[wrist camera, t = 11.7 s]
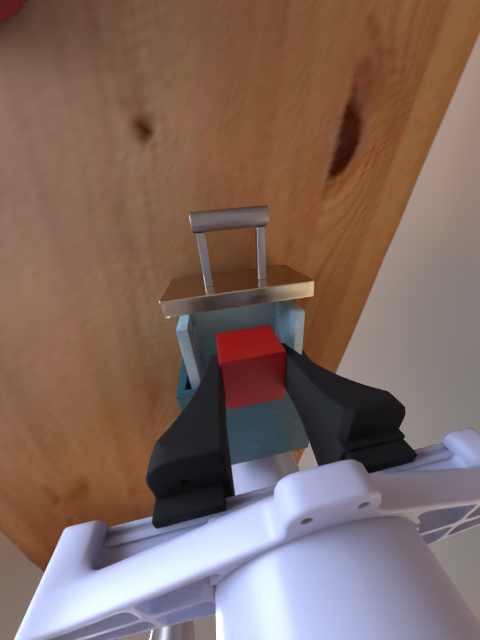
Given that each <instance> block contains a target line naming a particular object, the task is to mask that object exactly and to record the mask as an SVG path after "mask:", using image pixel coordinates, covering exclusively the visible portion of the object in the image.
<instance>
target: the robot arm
mask: <svg viewBox="0 0 480 640" xmlns="http://www.w3.org/2000/svg"><path fill="white" fill-rule="evenodd" d="M281 344H282V346H283V347H284V349H285V350H286V374H285V389H286V391H287V393H288V394H289V396H290V398H291V400H292V402H293V404H294V406H295V408H296V410H297V412H298V414H299V417H300V419H301V421H302V424H303V426H304V429H305V431H306V434H307V436H308V439H309V442H310V444H311V447H312V450H313V452H314V455H315V457H316V460H317V463H318V467H314V468H310V469H306V470H302V471H300V470H299V468H298V465H297V462H296V460H295V457H294V455H293V452H292V451H290V452H285V453H281V454H277V455H273V456H269V457H264V458H260V459H256V460H252V461H247V462H243V463H239V464H235V465H231V459H230V451H229V442H228V434H227V425H226V400H225V394H224V388H223V383H222V377H221V371H220V366H219V358H218V354H214V355H210V357H209V361H208V364H207V367H206V370H205V373H204V375H203V378H202V380H201V382H200V384H199V386H198V388H197V390H196V392H195V393H194V395H193V397H192V399H191V400H190V402H189V403H188V405H187V406H186V408H185V409H184V410H183V412H182V413H181V414H180V416H179V417H178V418H177V419H176V421H175V422H174V423H173V424H172V425H171V427H170V428H169V429H168V430H167V431H166V432H165V433H164V434H163V435H162V436H161V437H160V438H159V439H158V440H157V441H156V444H155V446H154V449H153V452H152V455H151V457H150V461H149V465H148V470H147V475H146V483H147V485H148V487H149V488H150V490H151V491H152V493H153V494H154V496H155V498H156V501H155V506H154V512H153V516H152V517H148V518H144V519H140V520H136V521H132V522H128V523H124V524H120V525H116V526H112V527H108V526H107V524H106V523H105V522H103V521H99V520H96V521H90V522H86V523H82V524H78V525H74V526H70V527H67V528H66V529H64V531H63V533H62V535H61V538H60V540H59V542H58V544H57V546H56V549H55V551H54V553H53V555H52V557H51V560H50V562H49V564H48V566H47V568H46V571H45V573H44V575H43V577H42V579H41V582H40V584H39V586H38V588H37V590H36V593H35V595H34V597H33V599H32V602H31V603H30V606H29V608H28V610H27V612H26V614H25V617H24V619H23V621H22V623H21V625H20V628H19V630H18V632H17V634H16V637H15V639H14V640H113V639H117V638H120V637H125V636H128V635H132V634H136V633H141V632H145V631H149V630H153V629H157V628H161V627H166V626H170V625H174V624H178V623H182V622H186V621H190V620H195V619H199V618H203V617H207V616H211V615H215V614H216V633H217V640H480V620H479V619H478V618H477V616H476V615H475V613H474V612H473V610H472V609H471V607H470V606H469V604H468V603H467V602H466V600H465V599H464V597H463V596H462V595H461V593H460V591H459V590H458V589H457V587H456V586H455V584H454V583H453V582H452V580H451V579H450V577H449V576H448V574H447V573H446V571H445V570H444V568H443V567H442V566H441V564H440V563H439V561H438V560H437V558H436V557H435V556H434V554H433V553H432V551H431V550H430V548H429V547H428V545H429V544H431V543H433V542H436V541H439V540H441V539H444V538H446V537H449V536H451V535H454V534H456V533H459V532H462V531H464V530H466V529H469V528H472V527H475V526H477V525H480V434H479V433H478V432H477V431H476V430H474V429H473V428H466V429H462V430H458V431H454V432H451V433H449V434H447V435H446V436H445V438H444V439H443V442H442V443H440V444H436V445H432V446H428V447H424V448H420V449H416V450H413V449H412V448H411V447H410V446H409V445H408V444H407V442H406V441H405V440H404V439H403V438H405V436H404V434H403V433H402V432H401V431H400V430H399V427H400V425H401V423H402V421H403V419H404V416H405V407H404V406H403V405H402V404H401V403H400V402H399V401H398V400H397V399H396V398H395V397H394V396H393V395H392V394H390V393H389V392H388V391H384V390H381V389H377V388H373V387H369V386H366V385H363V384H360V383H357V382H354V381H351V380H349V379H346V378H344V377H341V376H339V375H337V374H334V373H332V372H330V371H328V370H326V369H324V368H322V367H320V366H318V365H317V364H315V363H313V362H312V361H310V360H308V359H307V358H305V357H304V356H302V355H301V354H299V353H298V352H296V351H295V350H294V349H292V348H291V347H289V346H288V345H287V344H285V343H281Z"/></svg>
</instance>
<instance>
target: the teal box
mask: <svg viewBox="0 0 480 640" xmlns="http://www.w3.org/2000/svg"><path fill="white" fill-rule="evenodd" d="M302 356H304V357H305V358H307V359H308V360H310V359H309V358H308V356H307V355H306V354H305V353H304V351H303V350H302ZM310 361H311V360H310ZM196 390H197V388H195V389H192V387H191V383H190V379H189V376H188V372H187V369H186V365H185V362H184V358H183V359H182V365H181V372H180V378H179V384H178V390H177V397H176V398H177V401H178V404H179V406H180V409H181V412H183V410H184V409H185V408H186V406H187V405H188V403H189V402H190V400H191V399H192V397H193V395H194V393H195V392H196ZM226 425H227V434H228V442H229V451H230V459H231V465H235V464H239V463H243V462H247V461H252V460H256V459H260V458H264V457H269V456H273V455H277V454H281V453H285V452H290V451H294V450H298V449H302V448H307V447H308V443H309V439H308V436H307V434H306V431H305V429H304V426H303V424H302V421H301V419H300V417H299V414H298V412H297V410H296V408H295V406H294V404H293V402H292V400H291V398H290V396H289V394H288V393H287V391H286V389H285V398H283V399H278V400H273V401H268V402H263V403H258V404H253V405H248V406H243V407H239V408H234V409H229V410H228V409H227V405H226Z"/></svg>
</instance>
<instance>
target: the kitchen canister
mask: <svg viewBox="0 0 480 640" xmlns="http://www.w3.org/2000/svg"><path fill="white" fill-rule="evenodd" d="M25 2H26V0H0V23H1V22H3V21H5V20H7V19H8V18H9V17H11V16H12V15H14V14H15V13H16V12H17V11H18V10H19V9H20V8H21V7H22V5H23V4H24V3H25Z"/></svg>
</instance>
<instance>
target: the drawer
mask: <svg viewBox="0 0 480 640" xmlns="http://www.w3.org/2000/svg"><path fill="white" fill-rule="evenodd" d="M189 218H190V223H191V228H192V232H193V233H196V237H197V243H198V248H199V254H200V260H201V265H202V271H203V275H202V276H194V277H186V278H178V279H172V280H171V282H170V284H169V286H168V287H167V289H166V291H165V293H164V295H163V296H162V298H161V300H160V302H159V304H160V307H161V310H162V313H163V317H164V318H169V317H175V316H180V318H179V322H178V325H177V329H176V333H177V337H178V340H179V344H180V348H181V351H182V355H183V358H184V362H185V365H186V369H187V372H188V376H189V379H190V383H191V387H192V389H195V388H198V386H199V384H200V382H201V380H202V378H203V375H204V373H205V370H206V367H207V364H208V361H209V357H210V355H214V354H218V348H217V339H216V334H217V333H222V332H228V331H234V330H240V329H247V328H253V327H259V326H265V325H270V327H271V328H272V330H273V332H274V333H275V335H276V336H277V338H278V339H279V341H280V342H281V343H285V344H287V345H288V346H289V347H291V348H292V349H294V350H295V351H296V352H298V353H299V354H301V355H302V345H303V332H304V319H305V311H304V310H303V309H302V308H301V307H300V306H299V305H298V304H296V303H295V302H294V301H293V300H292V299H297V298H304V297H311V296H313V295H314V286H315V280H313V279H311V278H309V277H307V276H305V275H303V274H302V273H300V272H298V271H296V270H294V269H292V268H290V267H288V266H286V265H280V266H272V267H266V244H265V226H267V225H268V223H269V209H268V206H267V205H263V206H252V207H241V208H230V209H219V210H209V211H198V212H189ZM249 227H255V243H256V264H257V269H249V270H241V271H233V272H225V273H217V274H212V273H211V266H210V260H209V254H208V247H207V241H206V234H205V232H210V231H220V230H229V229H239V228H249Z"/></svg>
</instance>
